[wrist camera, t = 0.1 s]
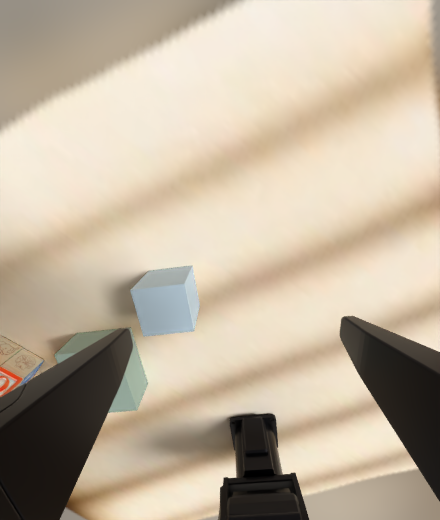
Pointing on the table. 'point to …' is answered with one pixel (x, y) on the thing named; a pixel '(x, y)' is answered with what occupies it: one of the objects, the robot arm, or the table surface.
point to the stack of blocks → (16, 365)
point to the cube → (166, 301)
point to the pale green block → (133, 376)
